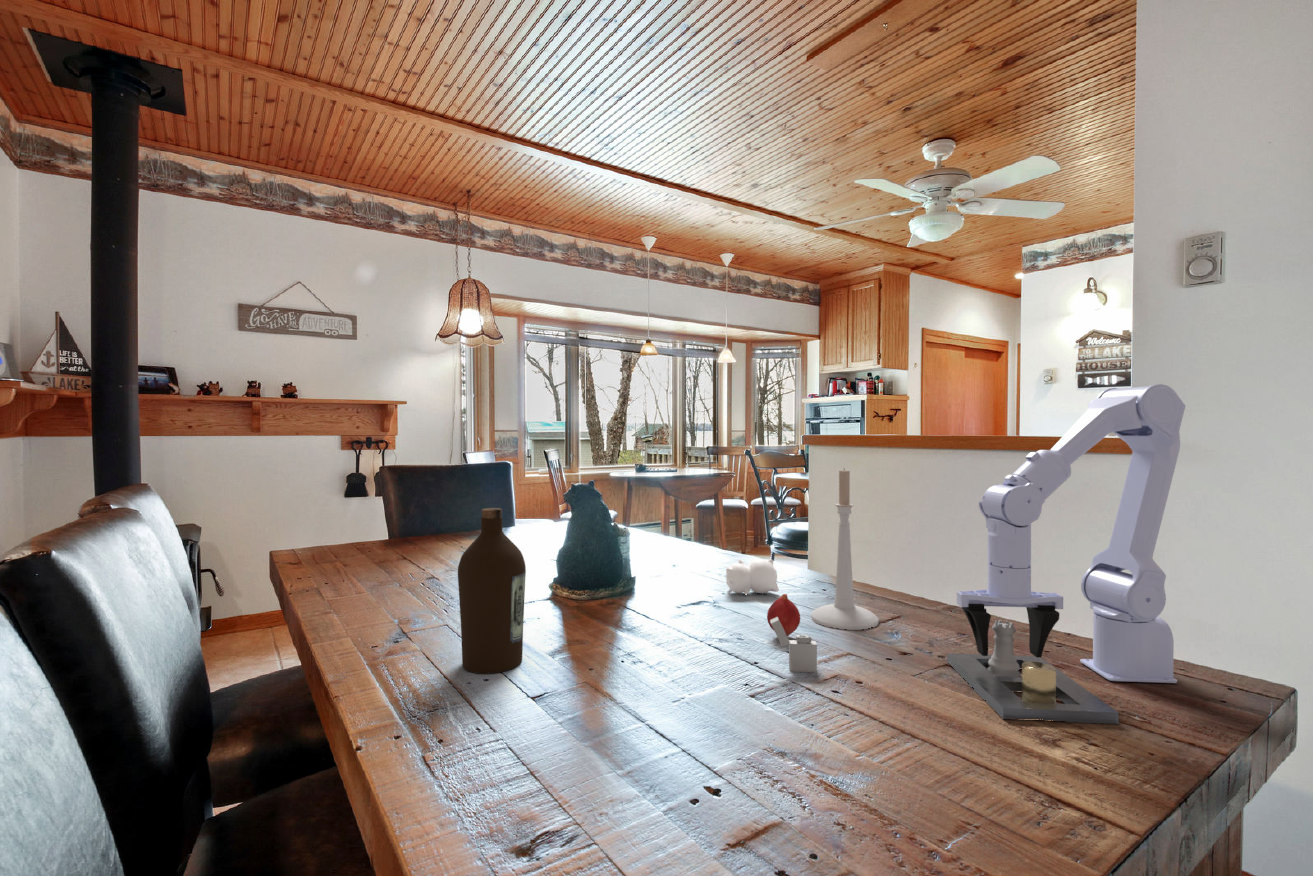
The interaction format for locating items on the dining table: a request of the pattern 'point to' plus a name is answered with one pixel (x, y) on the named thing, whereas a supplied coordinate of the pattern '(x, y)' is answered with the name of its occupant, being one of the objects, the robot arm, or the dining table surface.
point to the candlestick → (844, 575)
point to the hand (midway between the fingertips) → (1009, 654)
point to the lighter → (798, 649)
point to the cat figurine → (752, 577)
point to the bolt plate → (1032, 691)
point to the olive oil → (491, 599)
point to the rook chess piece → (1003, 651)
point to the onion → (784, 614)
